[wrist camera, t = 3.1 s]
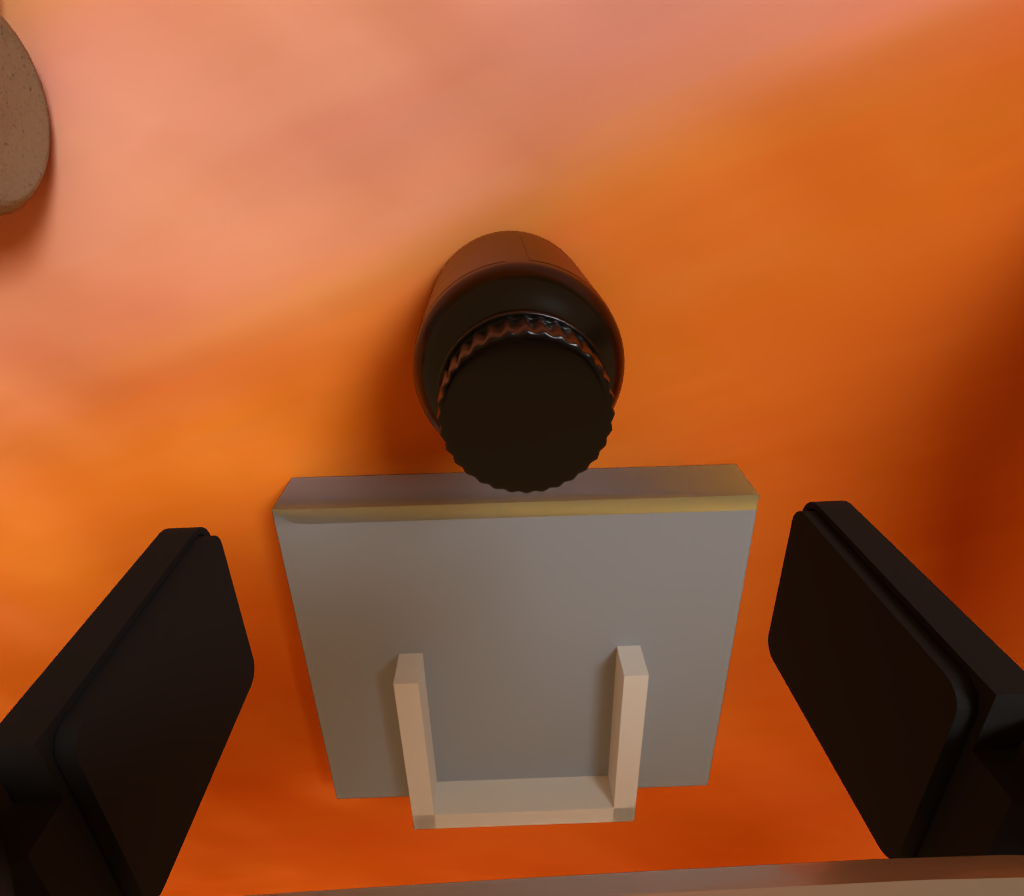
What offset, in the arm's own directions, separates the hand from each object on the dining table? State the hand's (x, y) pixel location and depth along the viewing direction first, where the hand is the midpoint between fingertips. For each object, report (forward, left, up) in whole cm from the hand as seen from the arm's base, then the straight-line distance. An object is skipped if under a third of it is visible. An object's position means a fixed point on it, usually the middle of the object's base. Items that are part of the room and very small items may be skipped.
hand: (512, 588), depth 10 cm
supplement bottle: (0, 0, -19) cm, 19 cm away
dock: (+18, 0, -19) cm, 26 cm away
